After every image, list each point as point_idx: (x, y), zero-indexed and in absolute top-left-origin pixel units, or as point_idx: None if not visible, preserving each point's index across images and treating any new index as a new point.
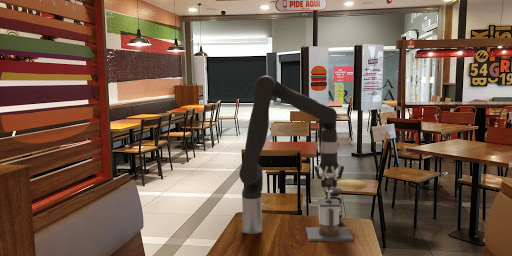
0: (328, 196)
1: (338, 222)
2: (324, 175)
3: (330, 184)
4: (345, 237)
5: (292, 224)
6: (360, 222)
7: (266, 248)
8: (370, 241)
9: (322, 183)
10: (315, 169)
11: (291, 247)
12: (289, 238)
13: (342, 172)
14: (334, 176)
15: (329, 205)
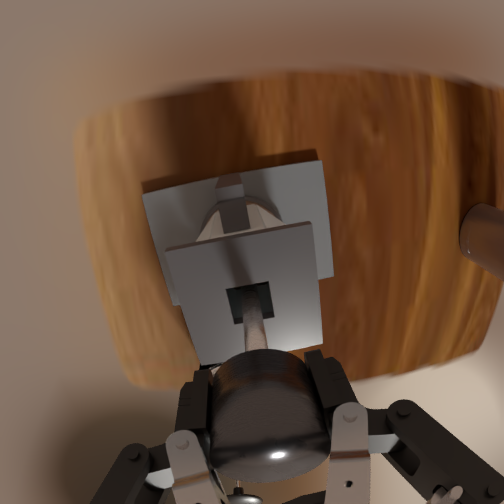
0: (256, 318)
1: (196, 241)
2: (344, 455)
3: (245, 372)
4: (172, 198)
5: (373, 309)
6: (141, 362)
7: (439, 95)
8: (89, 203)
9: (336, 381)
10: (488, 472)
11: (373, 100)
12: (386, 180)
13: (92, 501)
14: (197, 466)
15: (243, 235)
